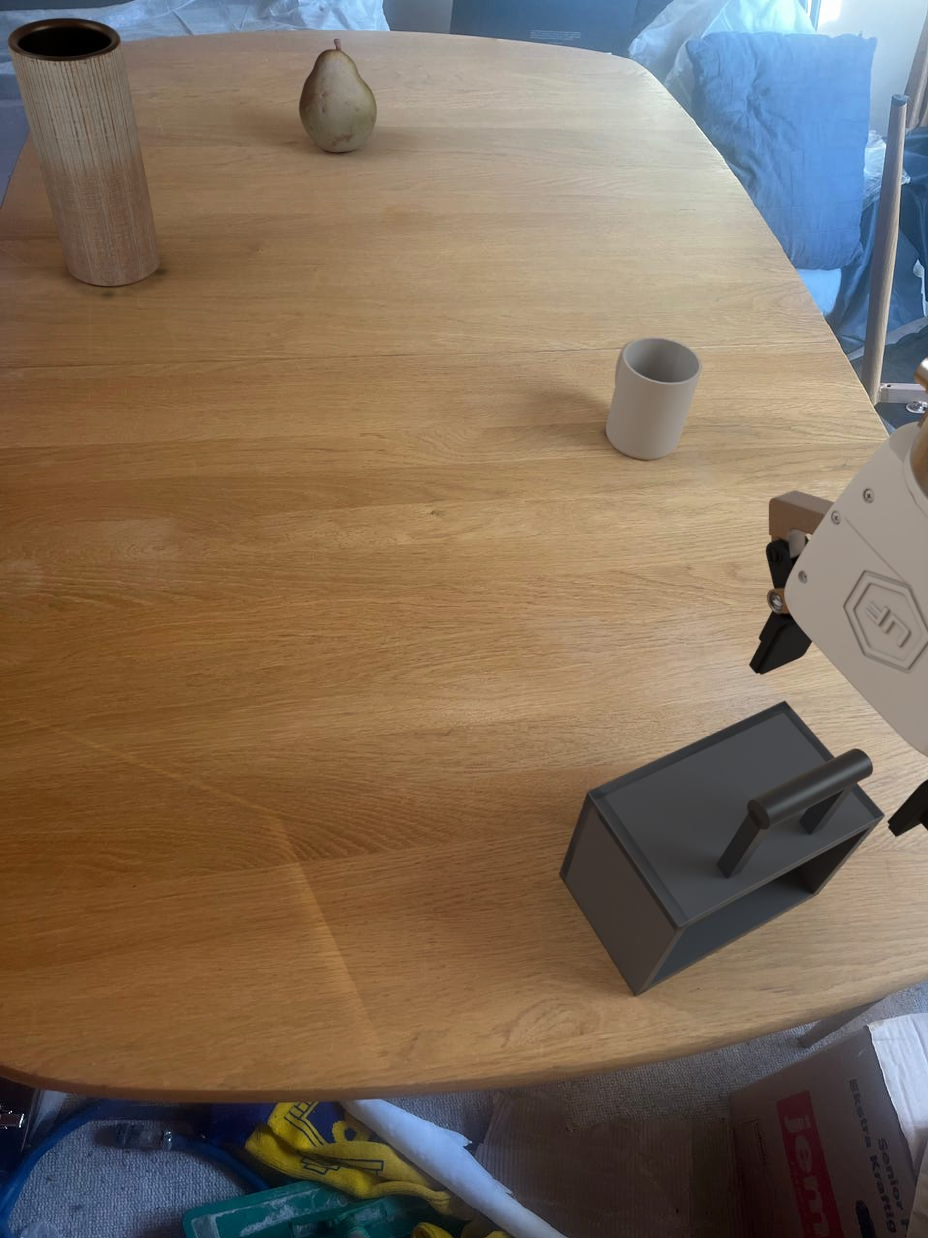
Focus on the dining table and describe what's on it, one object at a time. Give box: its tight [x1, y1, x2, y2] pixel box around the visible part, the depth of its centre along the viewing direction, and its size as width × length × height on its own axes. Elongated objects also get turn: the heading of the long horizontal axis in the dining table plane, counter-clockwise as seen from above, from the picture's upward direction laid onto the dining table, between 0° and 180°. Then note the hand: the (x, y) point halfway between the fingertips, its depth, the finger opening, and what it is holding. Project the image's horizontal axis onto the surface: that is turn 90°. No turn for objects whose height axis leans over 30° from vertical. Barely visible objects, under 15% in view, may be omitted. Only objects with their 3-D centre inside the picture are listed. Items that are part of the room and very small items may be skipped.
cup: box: [605, 336, 703, 461], centre depth 91 cm, size 7×10×9 cm
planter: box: [6, 17, 161, 287], centre depth 98 cm, size 10×10×23 cm
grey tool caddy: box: [558, 700, 886, 998], centre depth 57 cm, size 18×15×9 cm
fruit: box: [298, 38, 378, 153], centre depth 124 cm, size 10×9×12 cm
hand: (840, 736), depth 46 cm, fingers open, 9 cm apart
